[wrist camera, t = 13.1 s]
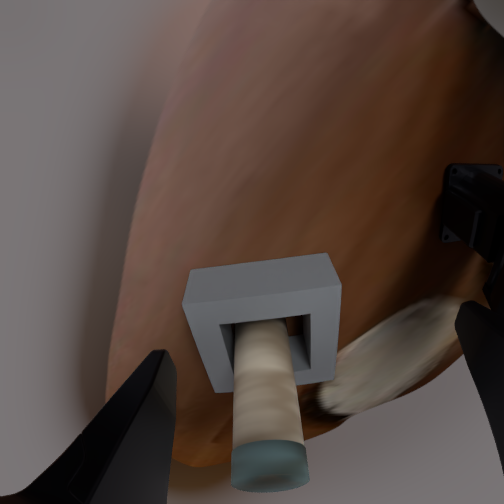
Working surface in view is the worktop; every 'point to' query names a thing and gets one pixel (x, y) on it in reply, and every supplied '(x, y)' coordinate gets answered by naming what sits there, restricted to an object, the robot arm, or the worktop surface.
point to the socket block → (266, 312)
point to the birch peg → (266, 411)
